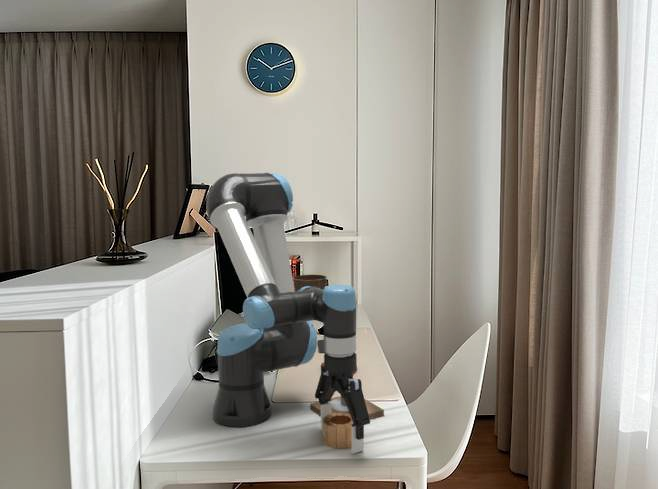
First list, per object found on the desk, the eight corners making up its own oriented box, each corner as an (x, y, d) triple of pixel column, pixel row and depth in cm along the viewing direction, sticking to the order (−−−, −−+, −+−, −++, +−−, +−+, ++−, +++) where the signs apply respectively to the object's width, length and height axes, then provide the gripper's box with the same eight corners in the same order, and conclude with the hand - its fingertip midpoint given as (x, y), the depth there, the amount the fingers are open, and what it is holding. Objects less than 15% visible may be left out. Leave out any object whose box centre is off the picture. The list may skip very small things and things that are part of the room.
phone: (318, 352, 205) (317, 339, 220) (318, 354, 205) (317, 342, 220) (339, 351, 205) (336, 339, 220) (339, 354, 206) (336, 341, 220)
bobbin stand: (338, 427, 145) (337, 377, 143) (310, 408, 157) (309, 361, 155) (383, 415, 152) (383, 366, 150) (354, 398, 164) (353, 353, 162)
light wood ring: (334, 451, 133) (334, 430, 132) (316, 437, 140) (316, 417, 139) (364, 442, 137) (364, 422, 136) (345, 429, 144) (345, 410, 143)
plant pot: (289, 314, 262) (288, 279, 260) (300, 307, 276) (299, 273, 274) (320, 316, 258) (320, 280, 256) (330, 309, 272) (330, 275, 270)
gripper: (385, 363, 127) (386, 457, 129) (326, 337, 148) (327, 418, 150) (356, 370, 123) (357, 466, 125) (300, 342, 144) (302, 424, 147)
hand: (341, 440), depth 138 cm, fingers open, 13 cm apart
